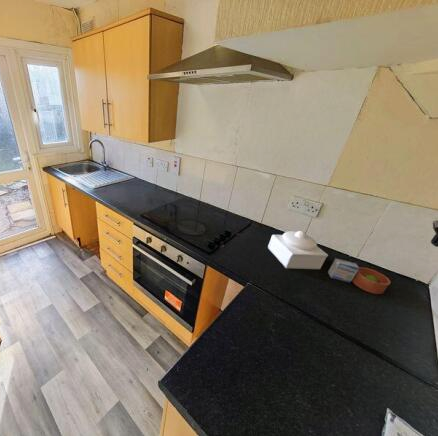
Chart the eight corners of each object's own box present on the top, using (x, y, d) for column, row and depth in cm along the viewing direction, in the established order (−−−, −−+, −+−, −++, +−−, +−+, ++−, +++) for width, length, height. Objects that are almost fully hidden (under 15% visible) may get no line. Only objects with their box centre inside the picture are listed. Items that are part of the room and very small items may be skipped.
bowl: (377, 282, 104) (384, 272, 101) (387, 298, 95) (395, 288, 92) (347, 274, 108) (353, 264, 105) (354, 289, 99) (361, 278, 96)
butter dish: (297, 248, 126) (308, 223, 119) (320, 269, 110) (335, 242, 103) (267, 247, 125) (276, 222, 118) (286, 268, 109) (298, 241, 101)
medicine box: (330, 278, 105) (338, 263, 101) (327, 272, 108) (335, 257, 105) (350, 283, 102) (360, 268, 98) (347, 277, 106) (355, 262, 102)
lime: (371, 283, 102) (377, 274, 100) (375, 290, 98) (382, 281, 96) (358, 279, 104) (363, 271, 102) (361, 286, 100) (367, 277, 98)
